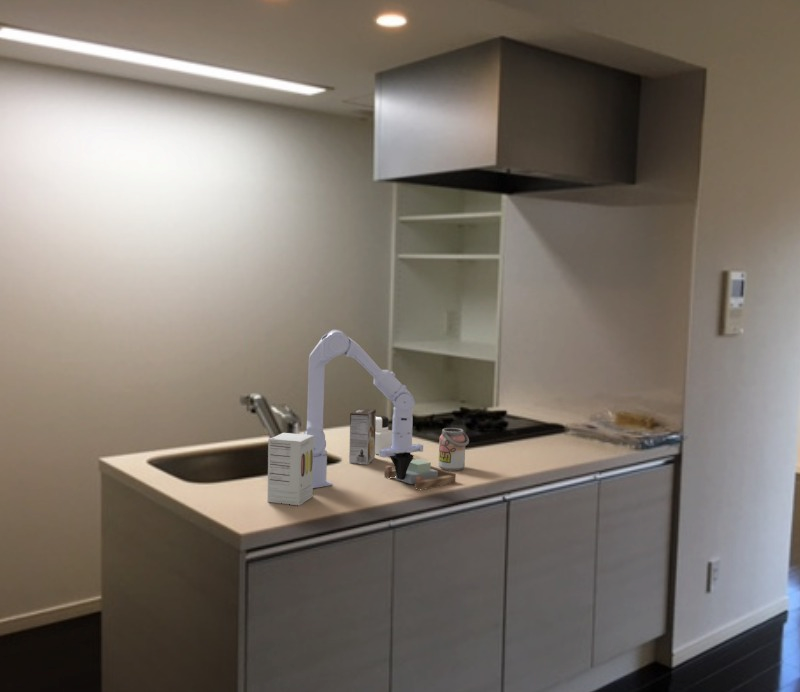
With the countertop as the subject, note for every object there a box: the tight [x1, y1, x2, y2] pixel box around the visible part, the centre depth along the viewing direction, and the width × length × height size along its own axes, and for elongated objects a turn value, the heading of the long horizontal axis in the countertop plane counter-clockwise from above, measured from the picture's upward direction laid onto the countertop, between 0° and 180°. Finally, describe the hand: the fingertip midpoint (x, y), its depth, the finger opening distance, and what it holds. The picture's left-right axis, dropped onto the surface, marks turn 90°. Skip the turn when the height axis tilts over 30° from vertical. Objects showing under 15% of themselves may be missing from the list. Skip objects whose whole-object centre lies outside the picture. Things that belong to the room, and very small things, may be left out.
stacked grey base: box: [395, 458, 438, 485], centre depth 232 cm, size 10×7×6 cm
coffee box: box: [348, 408, 377, 465], centre depth 254 cm, size 9×6×16 cm
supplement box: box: [267, 432, 314, 507], centre depth 210 cm, size 10×9×17 cm
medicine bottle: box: [375, 415, 392, 455], centre depth 267 cm, size 7×7×12 cm
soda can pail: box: [438, 427, 470, 472], centre depth 248 cm, size 9×8×12 cm
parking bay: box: [384, 465, 457, 491], centre depth 233 cm, size 14×16×4 cm
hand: (400, 478), depth 229 cm, fingers closed
